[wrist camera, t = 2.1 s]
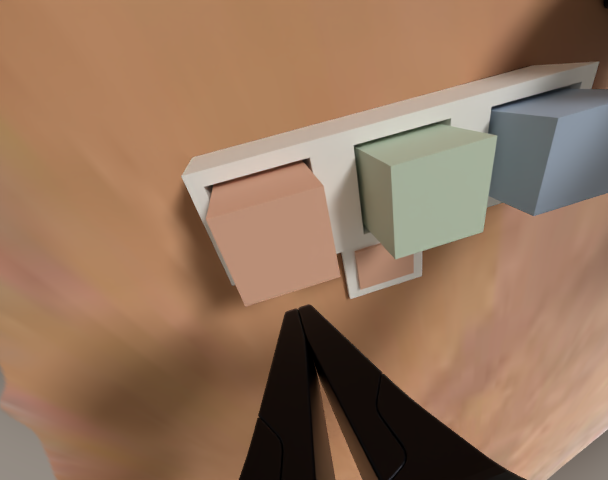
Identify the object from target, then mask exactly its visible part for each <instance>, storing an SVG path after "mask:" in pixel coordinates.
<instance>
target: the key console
mask: <svg viewBox="0 0 608 480" xmlns="http://www.w3.org/2000/svg"><path fill="white" fill-rule="evenodd" d="M599 62H600V61H599ZM599 62H582V63H565V64H548V65H533V66H529V67H525V68H521V69H518V70H514V71H510V72H507V73H503V74H499V75H496V76H492V77H488V78H484V79H481V80H477V81H473V82H470V83H466V84H462V85H459V86H455V87H451V88H447V89H444V90H440V91H436V92H433V93H429V94H425V95H422V96H418V97H414V98H410V99H407V100H403V101H399V102H396V103H392V104H388V105H385V106H381V107H377V108H374V109H370V110H366V111H362V112H359V113H355V114H351V115H348V116H344V117H340V118H337V119H333V120H329V121H325V122H322V123H318V124H314V125H311V126H307V127H303V128H300V129H296V130H292V131H288V132H285V133H281V134H277V135H274V136H270V137H266V138H263V139H259V140H255V141H251V142H248V143H244V144H240V145H237V146H233V147H229V148H226V149H222V150H218V151H214V152H211V153H207V154H203V155H200V156H196V157H192V159H191V161H190V162H189V164H188V166H187V167H186V169H185V171H184V173H183V174H182V176H181V177H182V179H183V181H184V183H185V185H186V187H187V189H188V192H189V194H190V196H191V198H192V200H193V202H194V205H195V207H196V209H197V211H198V213H199V215H200V217H201V220H202V222H203V224H204V226H205V228H206V230H207V233H208V235H209V237H210V239H211V241H212V243H213V245H214V248H215V250H216V252H217V254H218V256H219V258H220V261H221V263H222V265H223V267H224V269H225V271H226V273H227V276H228V278H229V280H230V282H231V284H232V286H233V285H235V283H234V280H233V278H232V276H231V274H230V272H229V269H228V267H227V265H226V263H225V261H224V258H223V256H222V254H221V252H220V250H219V248H218V245H217V243H216V241H215V239H214V237H213V234H212V232H211V230H210V228H209V226H208V223H207V221H206V216H207V212H208V207H209V202H210V198H211V193H212V189H213V184H216V183H220V182H224V181H227V180H231V179H234V178H238V177H241V176H245V175H249V174H252V173H256V172H259V171H263V170H267V169H270V168H274V167H277V166H281V165H284V164H288V163H292V162H295V161H299V160H302V161H303V162H304V163H305V164H306V166H307V167H308V168H309V169H310V170H311V171H312V173H313V174H314V175H315V176H316V177H317V178H318V180H319V181H320V182H321V183H322V184H323V185H324V191H325V196H326V201H327V207H328V212H329V217H330V223H331V228H332V234H333V239H334V244H335V250H336V254H337V253H341V252H344V251H347V250H350V249H354V248H357V247H360V246H363V245H367V244H370V243H373V242H376V241H378V240H377V239H376V238H375V237H374V235H373V234H372V233H371V232H370V231H369V230H368V229H367V228H366V227H365V225H364V224H363V223H362V214H361V206H360V197H359V188H358V180H357V171H356V163H355V154H354V146H353V145H356V144H360V143H363V142H367V141H370V140H374V139H378V138H381V137H385V136H388V135H392V134H396V133H399V132H403V131H406V130H410V129H414V128H417V127H421V126H424V125H428V124H431V123H437V124H442V125H447V126H452V127H457V128H462V129H467V130H472V131H477V132H482V133H487V134H488V130H489V122H490V115H491V107H492V106H496V105H500V104H503V103H507V102H510V101H514V100H517V99H521V98H525V97H528V96H532V95H535V94H539V93H543V92H546V91H550V90H553V89H557V88H560V89H591V88H592V85H593V82H594V78H595V75H596V72H597V68H598V65H599ZM500 203H503V202H501V201H499V200H496V199H494V198H492V197H490V196H488V202H487V207H490V206H494V205H497V204H500Z"/></svg>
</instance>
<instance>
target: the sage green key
mask: <svg viewBox="0 0 608 480" xmlns="http://www.w3.org/2000/svg"><path fill="white" fill-rule="evenodd" d="M496 142H497V135H492V134H487V133H482V132H477V131H472V130H467V129H462V128H457V127H452V126H447V125H442V124H437V123H431V124H428V125H424V126H421V127H417V128H414V129H410V130H406V131H403V132H399V133H396V134H392V135H388V136H385V137H381V138H378V139H374V140H370V141H367V142H363V143H360V144H356V145H353V146H354V154H355V163H356V171H357V180H358V188H359V197H360V206H361V214H362V223H363V224H364V225H365V227H366V228H367V229H368V230H369V231H370V232H371V233H372V234H373V235H374V237H375V238H376V239H377V240H378V241H379V242H380V243H381V244H382V245H383V246H384V248H385V249H386V250H387V251H388V252H389V253H390V254H391V255H392V256H393V258H394V259H399V258H402V257H405V256H408V255H411V254H415V253H418V252H421V251H424V250H427V249H430V248H434V247H437V246H440V245H443V244H446V243H450V242H453V241H456V240H459V239H462V238H465V237H469V236H472V235H475V234H478V233H481V232H483V229H484V222H485V216H486V209H487V202H488V195H489V189H490V182H491V175H492V169H493V162H494V155H495V149H496Z"/></svg>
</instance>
